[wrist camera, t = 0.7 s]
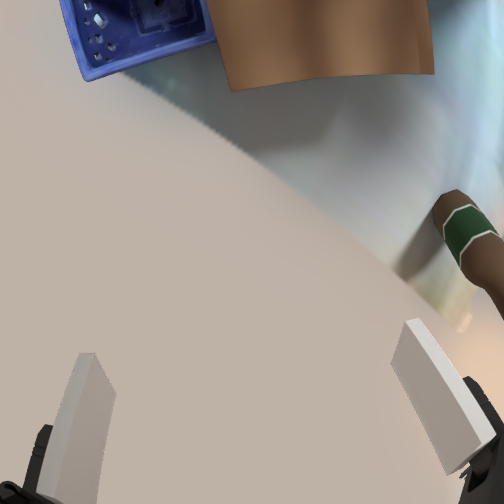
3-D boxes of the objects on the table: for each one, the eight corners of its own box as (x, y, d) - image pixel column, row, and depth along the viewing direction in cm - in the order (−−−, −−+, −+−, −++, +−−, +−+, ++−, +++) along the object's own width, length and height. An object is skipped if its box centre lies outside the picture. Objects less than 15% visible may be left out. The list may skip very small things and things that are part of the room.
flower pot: (212, -56, 20) (189, -88, 11) (235, 38, 29) (221, 42, 20) (107, -20, 22) (51, -25, 13) (130, 67, 31) (81, 88, 22)
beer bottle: (425, 227, 45) (485, 353, 27) (437, 186, 40) (517, 312, 22) (461, 227, 44) (524, 342, 26) (474, 189, 39) (555, 303, 21)
